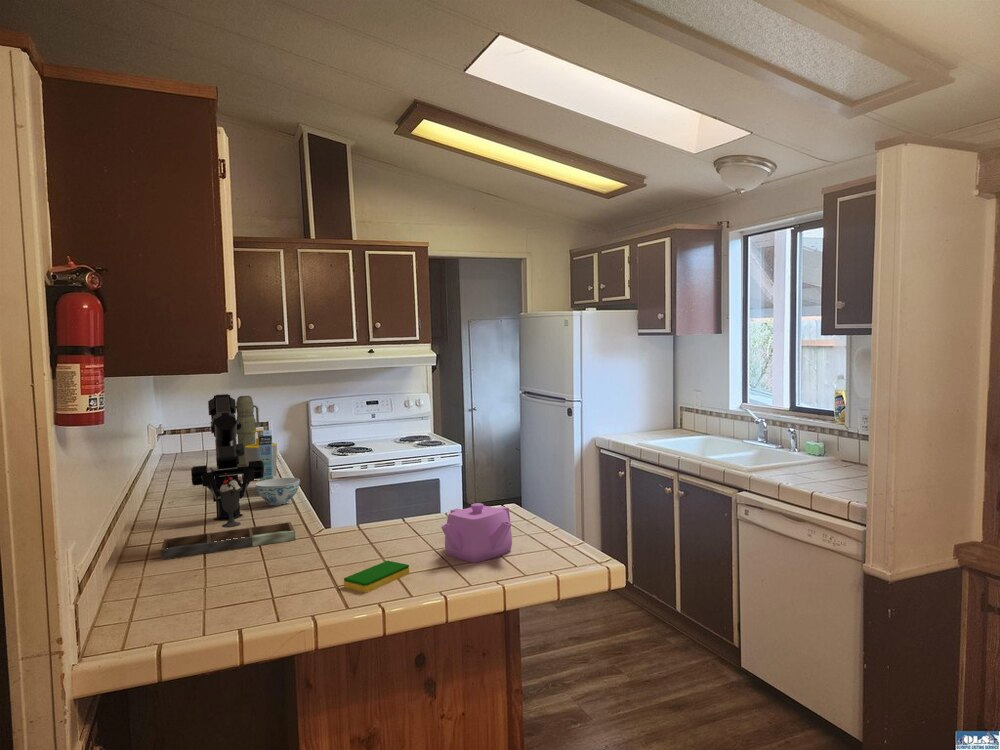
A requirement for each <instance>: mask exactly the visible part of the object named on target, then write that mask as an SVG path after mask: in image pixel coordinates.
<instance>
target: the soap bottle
mask: <svg viewBox="0 0 1000 750" xmlns="http://www.w3.org/2000/svg"><path fill="white" fill-rule="evenodd" d="M259 431H266V430H265V429H256V431H253V432H252V433H254V432H256V433H257V438H255V441H256V444H252V445H247V446H245V452H246V461H247V466H248V464H249V461H254V460H259ZM272 447H273V473H274V476H276V477H277V459H278V458H277V456H278V455H277V452H278V450H277V447H278V446H277V443H275V442H274V443H273V442H272ZM259 479H260V478H259Z"/></svg>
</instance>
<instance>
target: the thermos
mask: <svg viewBox="0 0 1000 750" xmlns="http://www.w3.org/2000/svg"><path fill="white" fill-rule="evenodd" d="M235 402H236V420H238V421H239V423H241V428H240V429H239V431H237V444H242V443H243V444H244V456H239V467H245V466H247V461H246V452H245V446H247V445H252V444H256V433H257V432H254V433H252V432H253V431H256V430H257V427H259V425H260V419H259V415H260V414H259V407H258V406H257V405H255V404H254V401H253V397H252V396H250V395H239V396H238V397H237V399H236V401H235ZM254 408H255V411H254ZM254 412H255V415H254ZM255 416H256V418H255Z"/></svg>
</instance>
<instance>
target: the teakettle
mask: <svg viewBox="0 0 1000 750" xmlns="http://www.w3.org/2000/svg"><path fill="white" fill-rule="evenodd" d="M440 528H441V531H442V532H443V534H444V548H445V549H444V550H445V553H446V554H447V556H449V557H452V558H455V559H458V560H461V561H465V562H469V563H473V564H474V563H480V562H483V561H488V560H490V559H494V558H497V557H499V556H503V555H505V554H506V553H509V552H510V551H511V549H512V545H513V536H512V535H513V534H512V523H511V516H510V507H508V506H507V507H506V506H499V507H493V506H488V505H484V503H482V502H477V503H472V504H470V507H466V508H454V509H450V512H449V514H448V515H447V519H446V523H445V524H443V525H441V526H440Z"/></svg>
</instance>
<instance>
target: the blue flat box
mask: <svg viewBox="0 0 1000 750" xmlns="http://www.w3.org/2000/svg"><path fill="white" fill-rule="evenodd" d="M272 443H273V435H272V430H269V429H268V430H265V431H259V460H262V461H263V463H264V475H263V477H262V478H260V481H264V480H269V479H274V473H273V447H272ZM260 481H259V482H260Z"/></svg>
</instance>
